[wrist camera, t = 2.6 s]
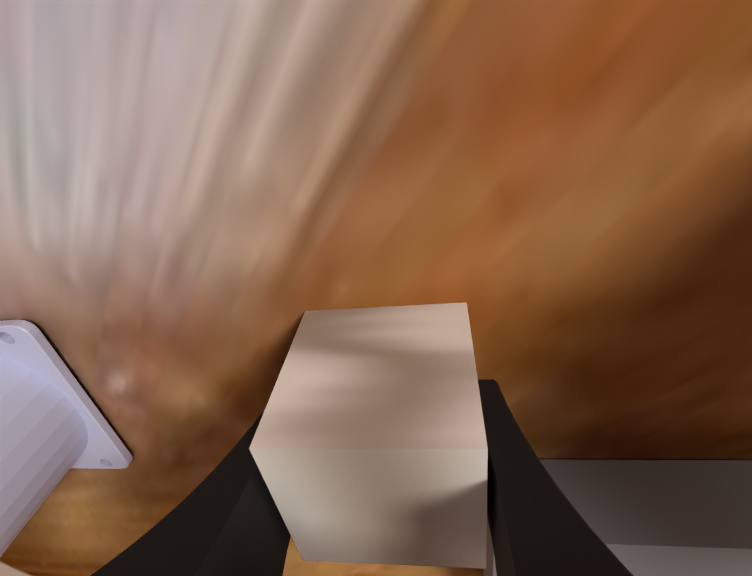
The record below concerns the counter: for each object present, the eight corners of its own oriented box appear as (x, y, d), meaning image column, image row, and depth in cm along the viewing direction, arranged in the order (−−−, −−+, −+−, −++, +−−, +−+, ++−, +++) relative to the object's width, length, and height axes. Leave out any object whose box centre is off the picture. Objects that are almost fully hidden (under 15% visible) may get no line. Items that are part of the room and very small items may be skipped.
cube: (335, 416, 16) (302, 560, 12) (305, 311, 13) (248, 448, 9) (469, 414, 15) (486, 568, 11) (466, 302, 12) (488, 448, 8)
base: (482, 576, 21) (490, 650, 19) (483, 459, 16) (494, 540, 14) (695, 587, 20) (734, 669, 17) (774, 460, 15) (846, 552, 12)
